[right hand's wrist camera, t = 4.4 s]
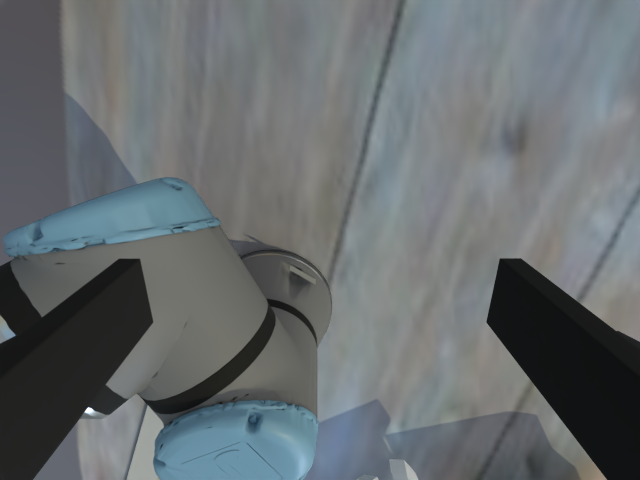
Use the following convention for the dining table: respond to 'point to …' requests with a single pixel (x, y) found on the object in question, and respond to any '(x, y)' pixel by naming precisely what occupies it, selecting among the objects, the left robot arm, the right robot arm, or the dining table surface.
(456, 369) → the dining table surface
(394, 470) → the white plastic object
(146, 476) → the invitation card
